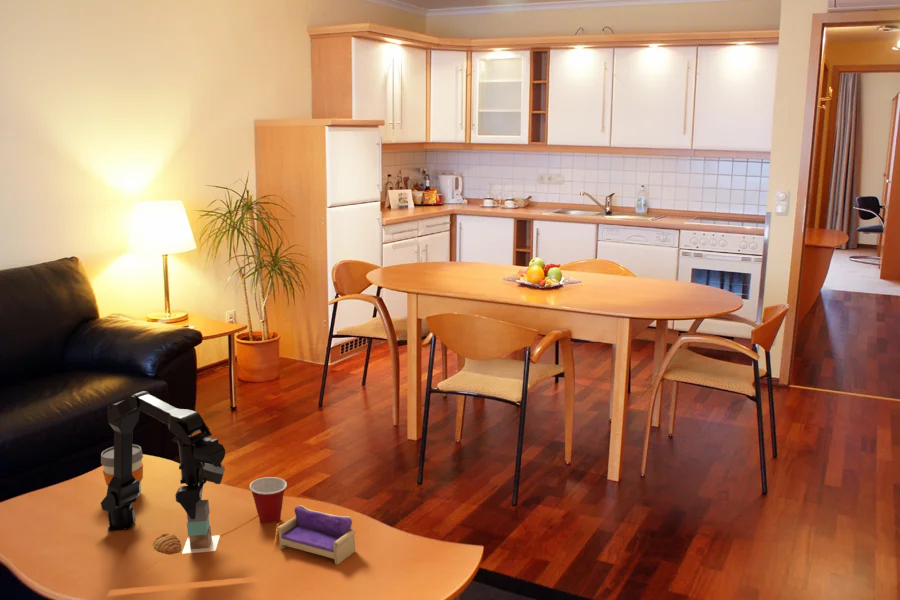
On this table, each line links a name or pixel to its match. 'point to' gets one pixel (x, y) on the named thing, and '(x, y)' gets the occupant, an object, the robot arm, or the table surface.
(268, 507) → the plastic cup
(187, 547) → the base plate
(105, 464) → the reusable coffee cup
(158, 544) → the pastry
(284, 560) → the table surface
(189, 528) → the teal brick
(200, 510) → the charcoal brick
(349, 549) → the toy sofa
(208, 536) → the walnut brick
